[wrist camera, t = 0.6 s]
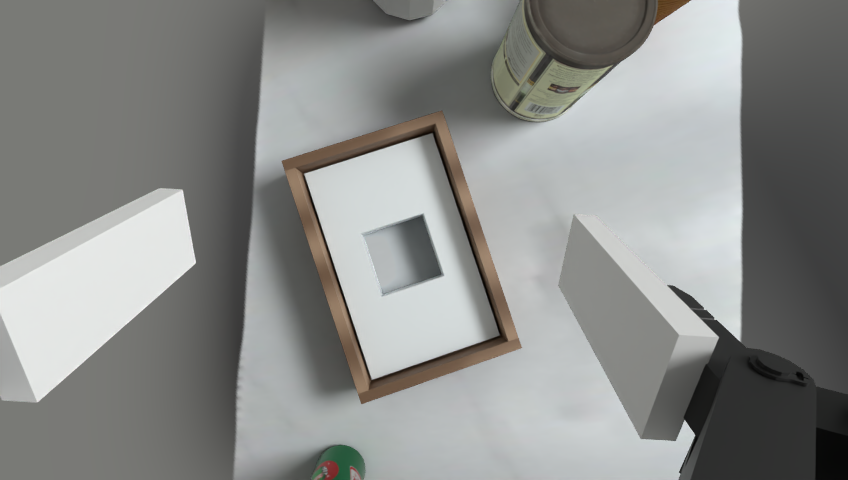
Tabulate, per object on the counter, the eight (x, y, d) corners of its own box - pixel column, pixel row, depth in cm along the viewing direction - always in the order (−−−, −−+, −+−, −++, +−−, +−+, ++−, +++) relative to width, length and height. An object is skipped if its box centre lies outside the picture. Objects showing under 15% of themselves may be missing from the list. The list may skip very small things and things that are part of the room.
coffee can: (561, 17, 47) (629, -86, 32) (595, 103, 46) (679, 38, 32) (475, 48, 46) (506, -42, 32) (509, 136, 46) (556, 84, 32)
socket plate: (493, 329, 45) (499, 335, 42) (374, 371, 44) (372, 379, 41) (430, 140, 45) (432, 133, 42) (310, 179, 45) (304, 173, 42)
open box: (508, 337, 45) (521, 347, 40) (366, 387, 44) (361, 404, 39) (438, 126, 45) (442, 110, 40) (295, 171, 45) (281, 160, 40)
